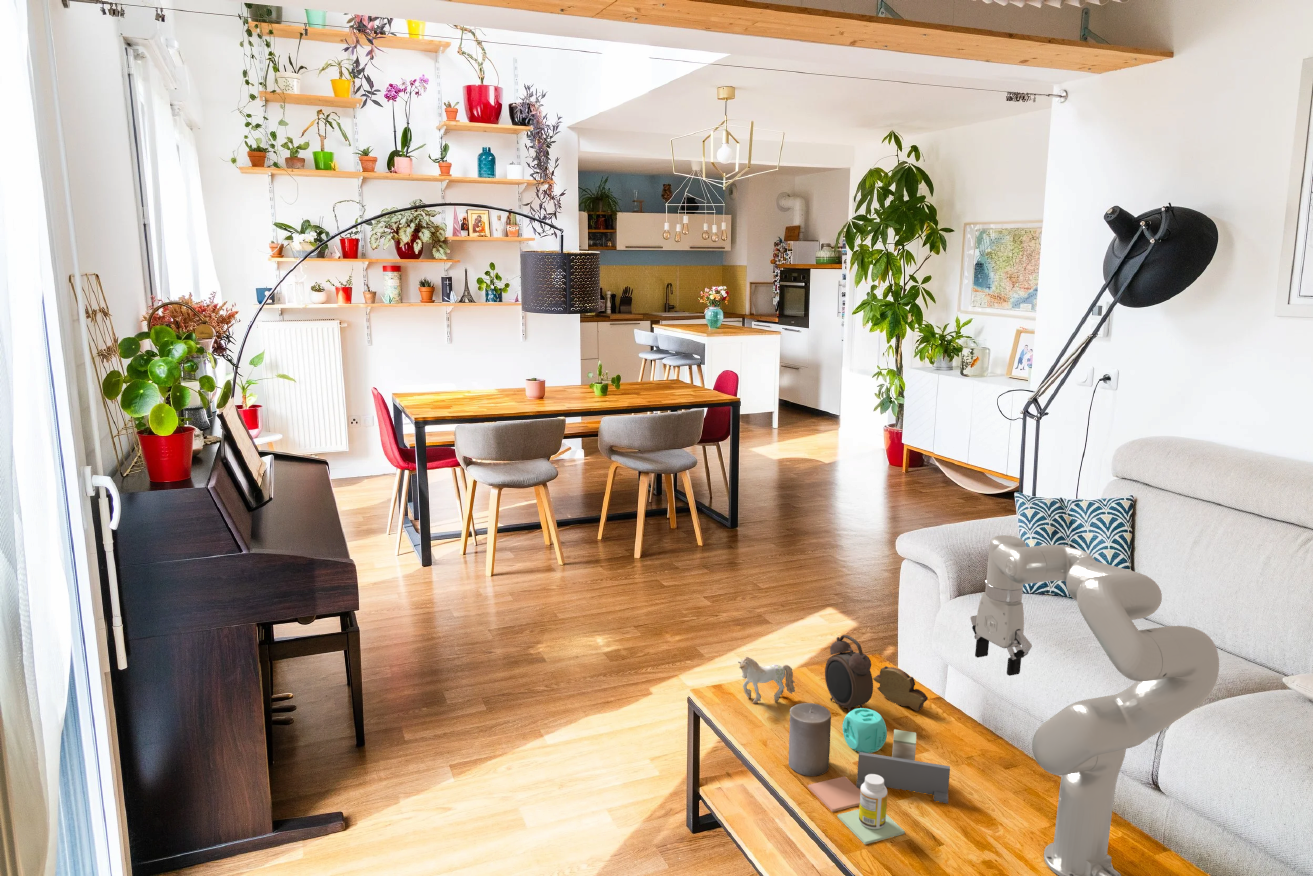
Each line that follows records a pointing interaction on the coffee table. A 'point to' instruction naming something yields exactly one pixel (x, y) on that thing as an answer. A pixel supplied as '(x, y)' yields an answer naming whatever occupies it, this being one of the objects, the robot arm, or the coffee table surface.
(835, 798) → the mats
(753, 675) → the unicorn figurine
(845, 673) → the alarm clock
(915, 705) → the wooden carving
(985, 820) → the coffee table surface
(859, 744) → the decorative dice
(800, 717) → the pillar candle
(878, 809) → the supplement bottle
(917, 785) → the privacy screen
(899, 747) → the marked post
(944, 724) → the coffee table surface
